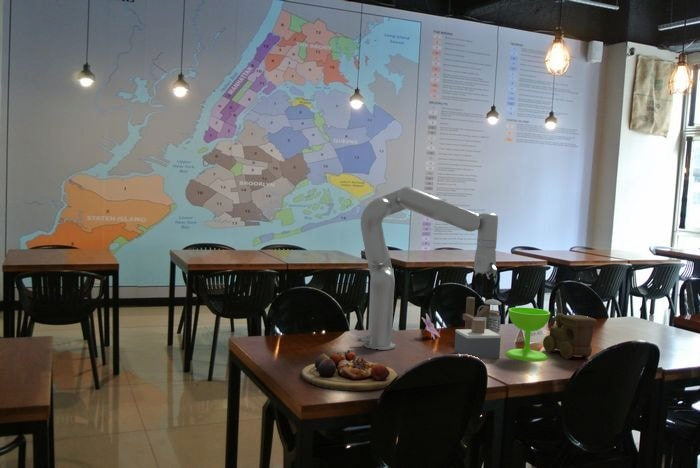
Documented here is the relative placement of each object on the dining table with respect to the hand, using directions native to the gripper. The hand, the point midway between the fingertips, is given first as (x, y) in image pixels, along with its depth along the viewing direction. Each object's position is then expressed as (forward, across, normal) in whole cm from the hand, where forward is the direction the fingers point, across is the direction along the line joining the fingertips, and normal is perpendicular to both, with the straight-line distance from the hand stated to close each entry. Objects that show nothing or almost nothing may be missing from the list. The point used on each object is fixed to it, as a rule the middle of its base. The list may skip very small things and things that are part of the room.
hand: (483, 287), depth 251 cm
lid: (+19, +4, -4) cm, 20 cm away
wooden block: (+26, -24, +10) cm, 37 cm away
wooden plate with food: (+27, +28, -62) cm, 73 cm away
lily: (+26, -27, -11) cm, 39 cm away
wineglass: (+26, +8, +16) cm, 32 cm away
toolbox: (+26, +2, -3) cm, 26 cm away
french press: (+26, -35, +22) cm, 49 cm away
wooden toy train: (+26, +8, +34) cm, 44 cm away
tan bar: (+17, -11, +2) cm, 20 cm away
